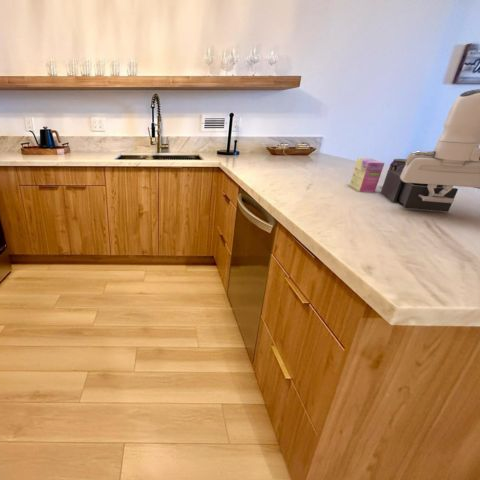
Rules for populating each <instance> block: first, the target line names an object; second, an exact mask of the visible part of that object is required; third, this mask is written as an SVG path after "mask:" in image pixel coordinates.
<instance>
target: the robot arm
mask: <svg viewBox="0 0 480 480" xmlns="http://www.w3.org/2000/svg"><path fill="white" fill-rule="evenodd" d="M406 159H407V160H406V165H405V167H404V169H403V171H402V173H401V175H400V179H401V180H402V181H403V182H406V183H420V184H428V186H427V187H428V190H429V192H430V193H429V195H428V197H440V198H443V196H444V195H445V194H446V193H448V192H449V191H450V190H452V188H454V187H464V188H478V189H480V88H477V89H476V88H475V89H470V90H466V91H464V92H462V93H460V94H459V95H458V96H457V97H456V99H455V100H454V102H452V104H451V107H450V108H449V111H448V113H447V115H446V118H445V120H444V123H443V130H442V133H441V135H440V136H439V137H438V138H437V142H436V143H435V146H434V149H433V151H429V150H427V151H423V150H416V151H414V152H410V154H408V155H407V157H406ZM437 185H443V188H444V189H443V190H442V191H440V192H439V193H435V192H434V189H433V188H436V187H437Z"/></svg>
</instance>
